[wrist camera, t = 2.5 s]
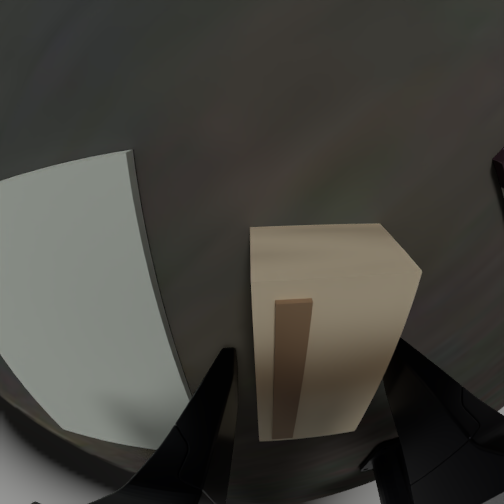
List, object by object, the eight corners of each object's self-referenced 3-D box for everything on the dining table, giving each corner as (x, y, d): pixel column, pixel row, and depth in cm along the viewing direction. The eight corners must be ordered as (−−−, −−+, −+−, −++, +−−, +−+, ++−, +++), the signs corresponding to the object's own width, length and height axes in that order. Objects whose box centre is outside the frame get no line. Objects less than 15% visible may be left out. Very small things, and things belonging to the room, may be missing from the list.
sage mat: (212, 448, 16) (212, 454, 15) (65, 424, 16) (63, 429, 15) (132, 149, 7) (125, 152, 7) (-60, 204, 7) (-67, 208, 7)
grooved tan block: (341, 378, 12) (355, 433, 10) (257, 385, 12) (259, 444, 10) (376, 220, 9) (424, 274, 6) (249, 223, 9) (250, 286, 6)
